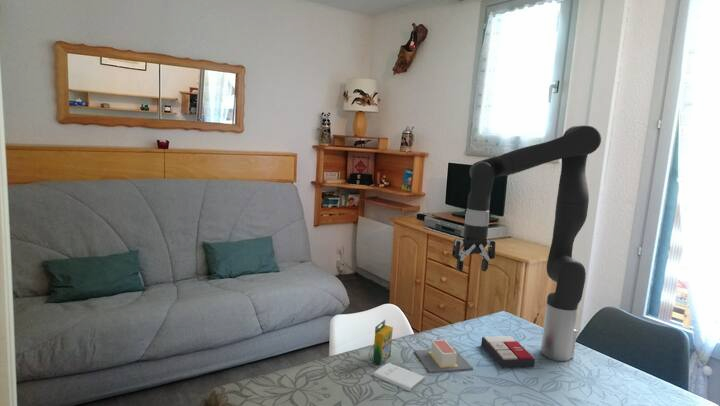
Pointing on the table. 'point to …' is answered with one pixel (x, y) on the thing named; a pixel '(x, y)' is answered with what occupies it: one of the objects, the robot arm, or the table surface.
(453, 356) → the card deck
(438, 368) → the rubber mat
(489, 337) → the calculator
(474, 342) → the table surface
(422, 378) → the external hard drive
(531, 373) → the table surface
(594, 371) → the table surface
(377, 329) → the crayon box
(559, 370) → the table surface
